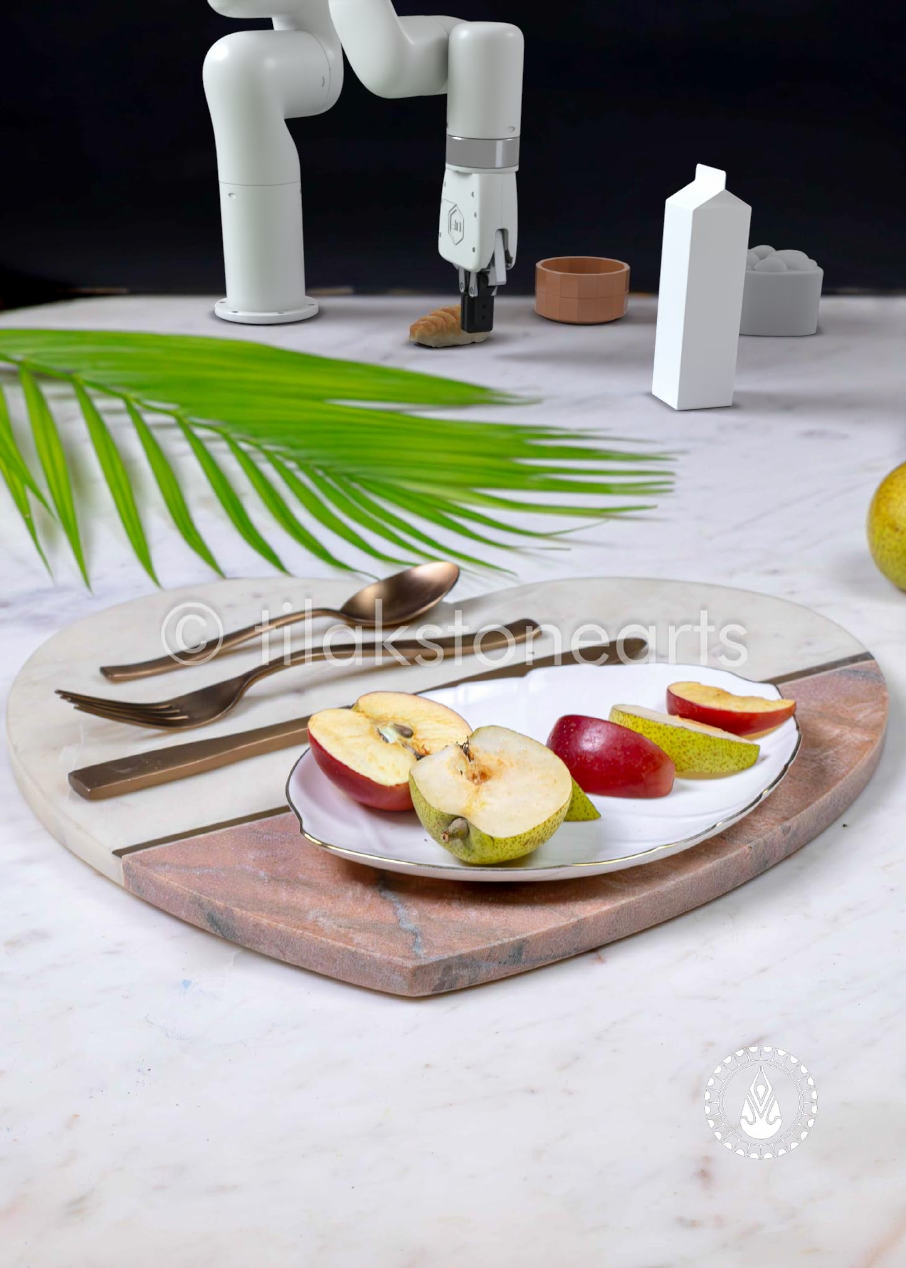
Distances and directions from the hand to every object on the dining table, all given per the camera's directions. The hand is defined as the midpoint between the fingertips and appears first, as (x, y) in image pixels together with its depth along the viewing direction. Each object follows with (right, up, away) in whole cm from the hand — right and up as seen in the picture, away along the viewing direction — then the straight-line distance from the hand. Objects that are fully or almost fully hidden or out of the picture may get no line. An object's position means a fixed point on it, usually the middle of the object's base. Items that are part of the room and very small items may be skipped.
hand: (476, 330), depth 148 cm
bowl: (+13, +6, +19) cm, 24 cm away
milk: (+21, -10, -13) cm, 27 cm away
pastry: (-3, 0, +7) cm, 8 cm away
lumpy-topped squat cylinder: (+34, +4, +15) cm, 37 cm away
